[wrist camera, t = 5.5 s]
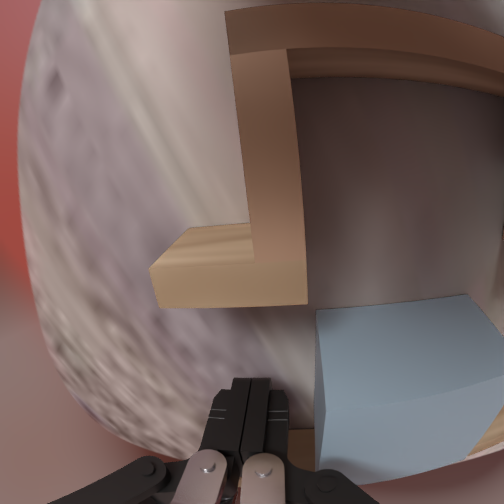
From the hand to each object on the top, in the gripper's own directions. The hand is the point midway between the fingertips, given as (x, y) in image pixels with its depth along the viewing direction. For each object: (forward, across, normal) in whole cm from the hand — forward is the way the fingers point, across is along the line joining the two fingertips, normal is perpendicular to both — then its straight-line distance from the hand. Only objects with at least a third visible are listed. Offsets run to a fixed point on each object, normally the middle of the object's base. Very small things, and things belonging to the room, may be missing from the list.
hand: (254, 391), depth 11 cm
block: (+2, -6, 0) cm, 6 cm away
